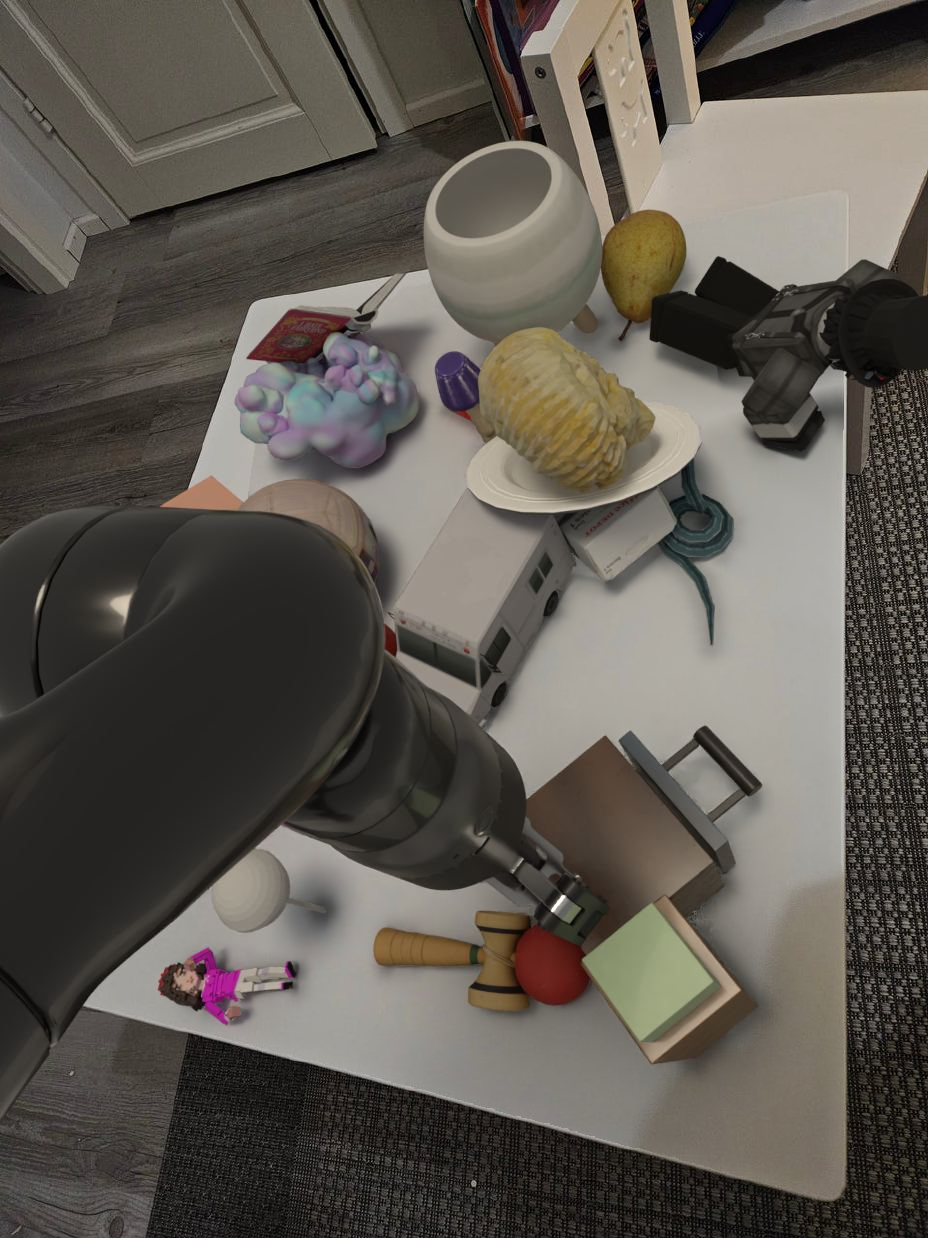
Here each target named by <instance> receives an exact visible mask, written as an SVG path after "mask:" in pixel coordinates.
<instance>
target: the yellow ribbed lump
mask: <svg viewBox="0 0 928 1238" xmlns="http://www.w3.org/2000/svg"><path fill="white" fill-rule="evenodd" d="M480 369H481V371H480V373H479V376H478V386H479V399H480V413H481V415H482V417H483V418H484V419H485V420H487V421H488V422H489V423H490V424H492V425H493V427H494V428H495V431H496V435H497V436H498V437H499V438H501V439H502V440H504V441H505V442H506V443H507V444H509V445H511V446H512V448H513V449H515V450H516V451H517V453H518V455H520V456H523V457H524V458H525V459H526V460H527V461H529V462H531V464H532V467H533V470H534V471H535V472H536V473H540V474H543V475H544V476H546V477H548V478H551V479H553V480H556V481H557V483H558V485H559V486H562V487H567V488H571V489H575V490H580V491H581V492H582V493H587V492H589V491H590V489H591V485H596V486H598V488H599V489H602V488H605V487H607V486H609V485H611V484H613V483H615V482H616V481H618V480H619V479H621V478H622V476H623V474H624V472H625V470H626V469H627V464H628V458H627V450H628V449H629V448H630V447H632V446H634V445H636V444H637V443H639V442H642V441H644V440H645V439H646V437H647V435H648V434H649V433H650V431H651V430H652V428H653V425H654V422H655V418H656V417H655V416H654V414H653V413H652V411H651V410H650V409H649V408H648V407H647V406H646V405H645V404H644V403H643V402H642V401H643V400H641V399H639V398H638V397H636V396H635V391H634V390H633V388H630V387H626V386H622V385H621V384H620V380H619V377H618V376H617V375H616V374H615V373H614V372H613V373H612V372H606V370H605V369H604V367H603V366H600V364H599V361H598V360H597V358H593V357H591V356H590V354H588V353H587V352H586V351H581V350H579V349H578V348H576V347H575V346H573V345H572V344H571V343H569V342H568V341H567V340H565V339H563V338H562V337H561V336H560V333H559V332H558V333H557V332H555V331H554V330H553V329H548V328H543V327H535V328H529V329H524V330H520V331H518V332H515V333H512V334H511V335H509V336H507V337H505V338H504V339H503V340H502V341H501V342H500V343H499V344H498V345H497V346H496V347H495V346H494V347H493V348H492V350H491V352H490V353H488V356H486V358H485V359H484V361H483V364H482V366H481V368H480Z"/></svg>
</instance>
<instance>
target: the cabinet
mask: <svg viewBox="0 0 928 1238" xmlns="http://www.w3.org/2000/svg"><path fill="white" fill-rule="evenodd" d="M526 817H527V818H528V819H529V820H530V823H531V827H532V828H533V829H535V830H536V831H537V832H538V833H539V834H541V835H542V836H543V837H544V838H545V839H547V840H548V841H549V842H550V843H551V844H552V845H554V846H555V847H556V848H557V849H558V850H559V851H560V852H561V853H562V854H563V862H562V865H563V866H564V867H565V868H566V869H568V870H569V871H570V872H571V873H573V874H574V873H577V874H578V875H579V876H580V877H581V878H582V880H581V881H582V882H583V883H584V884H586V885H587V886H588V887H589V890H590V891H592V892H593V893H595V894H596V895H597V896H598V895H599V894H600V895H601V896H602V897H604V898H605V899H606V900H607V902H606V904H607V905H608V906H609V907H611V909H610V910H609V911H608V913H607V914H606V915H604V914H603V915H604V916H603V917H602V919H601V920H600V921H599V922H598V924H597V925H596V926H595V927H594V929H593V930H592V931H591V933H590V934H589V935H588V936H587V938H586V940H585V942H584V943H583V944H582V946H581V949H582V950H583V952H584V953H585V954H586V955H588V954H589V953H590V952H591V951H593V950H594V949H595V948H596V947H597V946H599V945H600V944H601V943H602V942H604V941H605V940H606V939H607V938H608V937H610V936H611V935H612V934H613V933H615V932H616V931H617V930H618V929H619V928H621V927H622V926H623V925H624V924H626V923H627V922H628V921H629V920H630V919H632V918H633V917H634V916H635V915H637V914H638V913H639V912H640V911H641V910H643V909H644V908H645V907H646V906H648V905H649V904H650V903H654V902H655V901H657V900H658V899H659V898H660V897H662V896H663V895H664V894H665V895H667V896H668V897H669V899H670V900H671V901H672V902H673V903H674V904H675V905H676V907H677V908H678V909H679V910H680V911H681V912H682V913H683V914H684V916H685V917H686V918H688V917H689V916H690V915H691V914H693V913H694V912H695V911H696V910H698V909H699V908H700V907H701V906H703V905H704V904H705V903H706V902H708V900H710V899H711V898H712V897H714V896H715V895H716V894H717V893H719V891H721V890H722V889H723V888H724V887H725V886H726V885H725V882H724V880H723V878H722V876H721V873H720V871H719V869H718V866H717V864H716V863H715V862H714V860H713V859H712V858H711V857H710V856H709V855H708V853H707V852H706V851H705V850H704V849H703V848H702V846H701V845H700V844H699V843H698V842H697V841H696V839H695V838H694V837H693V836H692V835H691V834H690V832H689V831H688V830H687V829H686V828H685V827H684V826H683V824H682V823H681V822H680V821H679V820H678V819H677V817H676V816H675V815H674V814H673V813H672V812H671V810H670V809H669V808H668V807H667V806H666V805H665V803H664V802H663V801H662V800H661V799H660V798H659V796H658V795H657V794H656V793H655V792H654V791H653V789H652V788H651V787H650V786H649V785H648V784H647V783H646V781H645V780H644V779H643V778H642V777H641V776H640V774H639V773H638V772H637V771H636V769H635V768H634V766H633V764H632V763H630V761H629V760H628V759H627V758H626V757H625V756H624V754H623V753H622V752H621V751H620V750H619V749H618V747H616V746H615V744H614V743H613V742H612V740H610V738H609V737H608V736H607V735H604V736H603V737H601V738H600V739H599V740H597V741H596V742H595V743H594V744H592V745H591V746H590V747H589V748H587V749H586V750H585V751H584V752H583V753H581V754H580V755H579V756H578V757H576V758H575V759H574V760H573V761H572V762H570V763H569V764H568V765H567V766H565V767H564V768H563V769H561V770H560V771H559V772H558V773H557V774H556V775H554V776H553V777H552V778H551V779H550V780H548V781H547V782H546V783H544V785H542V786H541V787H540V788H538V789H537V790H536V791H534V792H533V793H532V794H531V795H529V796H528V798H526ZM522 835H523V834H522ZM523 836H524V837H525V838H526V839H527V840H528V842H529V843H530V844H531V845H532V846H533V847H534V848H535V849H536V850H537V846H536V844H534V843H533V842H532V841H531V840H529V839H528V838H527V837H526V836H525V835H523ZM549 879H550V880H551V881H553V882H554V883H555V884H556V882H557V881H558V880H559V879H560V876H559V875H558V874H553V875H551V876H550V878H549Z"/></svg>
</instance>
